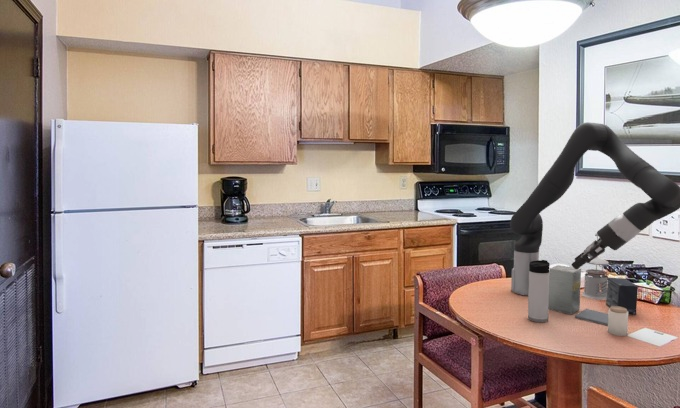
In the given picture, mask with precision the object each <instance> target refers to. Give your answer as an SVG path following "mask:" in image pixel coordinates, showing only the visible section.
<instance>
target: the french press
mask: <svg viewBox="0 0 680 408" xmlns="http://www.w3.org/2000/svg"><path fill="white" fill-rule="evenodd" d="M594 236H595V237H596V238H597V239H596V241H597V240H598V239H599V236H598V235H597V232H596V233H595V234H594ZM588 264H589V265H595V269H586V270H585V272H586V273H584V285H583V287H584V288H583V289H584V290H583V292H581V293H580V296H583V297H584V298H587V299H592V300H598V301H599V300H604V301H605V300H606V299H607V278H608V271H605V270H604V267H606V269H608V266H607V265H609V261H608V260H606V259H604V258H602V257H599V256H598V257H596V258H595V259H593V260H591V261H590V262H589V263H588ZM597 267H600V268H601V269H602V270H600V269H597Z"/></svg>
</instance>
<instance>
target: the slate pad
mask: <svg viewBox="0 0 680 408" xmlns="http://www.w3.org/2000/svg"><path fill="white" fill-rule="evenodd" d="M574 319H578V320H582V321H587V322H590V323H595V324H597V325H603V326H607V327H608V312H602V311H598V310H594V309H589V308H585V309H583V310H582V311H580V312H579V313H577V314H575V315H574Z"/></svg>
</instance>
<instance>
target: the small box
mask: <svg viewBox="0 0 680 408" xmlns="http://www.w3.org/2000/svg"><path fill="white" fill-rule="evenodd" d="M606 288H607V290H606V291H607V299H605V300H606V302H605V306H607V307H608V308H609V309H610V307H611V306H620V307H624V308H626V309H627V311H628V316H629V315H633V316H637V307H638V303H637V302H638V291H639V289H638V288H639V286H638V285H636V284H635V283H634V282H632V281H630V280H629V279H627V278H625V277H624V278H622V277H621V278H620V277H609V276H607V287H606Z"/></svg>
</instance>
